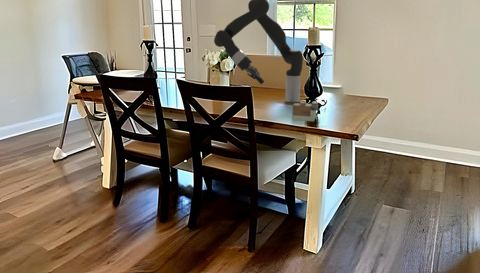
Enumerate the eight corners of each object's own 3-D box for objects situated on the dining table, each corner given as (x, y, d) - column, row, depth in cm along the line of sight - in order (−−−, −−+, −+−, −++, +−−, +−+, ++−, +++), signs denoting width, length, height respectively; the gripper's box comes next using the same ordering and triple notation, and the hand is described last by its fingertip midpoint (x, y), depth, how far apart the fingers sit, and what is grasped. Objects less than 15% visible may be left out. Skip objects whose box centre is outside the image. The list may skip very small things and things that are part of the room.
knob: (311, 108, 226) (311, 101, 225) (318, 109, 225) (318, 101, 224) (310, 110, 223) (311, 102, 222) (317, 110, 222) (317, 102, 221)
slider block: (293, 117, 234) (294, 101, 231) (311, 118, 231) (312, 102, 228) (292, 119, 229) (292, 102, 226) (310, 120, 226) (311, 104, 224)
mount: (295, 115, 236) (295, 105, 234) (315, 117, 232) (316, 106, 231) (292, 120, 227) (293, 109, 225) (313, 121, 224) (314, 110, 222)
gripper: (242, 56, 223) (264, 80, 223) (249, 54, 235) (270, 76, 235) (233, 66, 226) (255, 89, 226) (240, 63, 238) (261, 85, 238)
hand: (262, 83), depth 231 cm, fingers closed
